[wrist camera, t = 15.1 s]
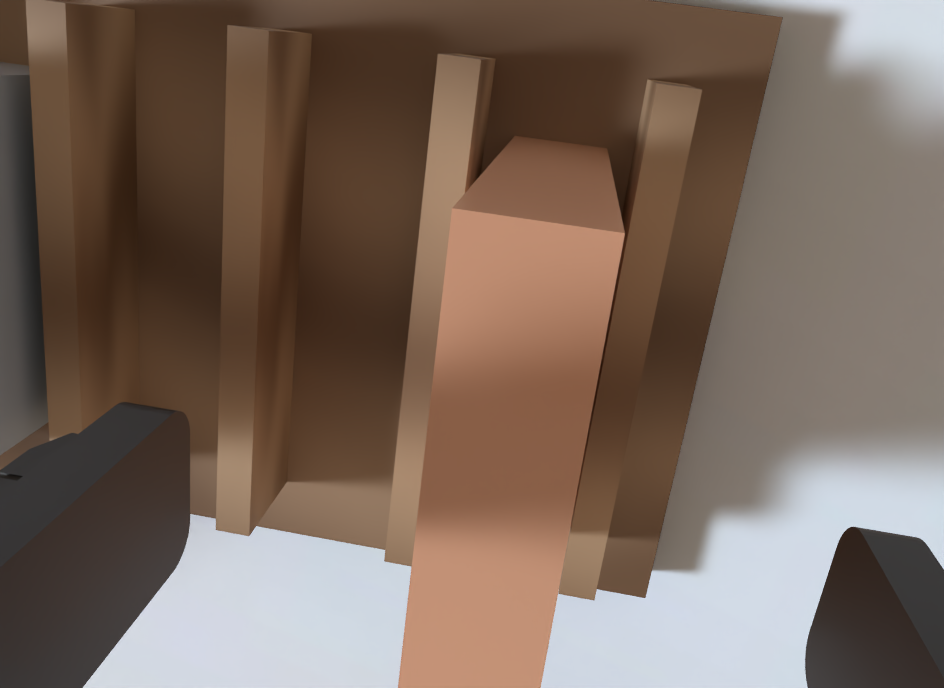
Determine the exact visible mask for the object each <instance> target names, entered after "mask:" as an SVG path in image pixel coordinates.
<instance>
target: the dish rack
mask: <svg viewBox="0 0 944 688" xmlns="http://www.w3.org/2000/svg"><path fill="white" fill-rule="evenodd" d="M782 18H783V17H775V16H768V15H760V14H752V13H744V12H736V11H729V10H721V9H713V8H705V7H697V6H690V5H682V4H674V3H666V2H658V1H651V0H0V62H6V63H13V64H20V65H27V66H29V72H30V91H31V109H32V128H33V146H34V164H35V183H36V201H37V220H38V238H39V256H40V275H41V293H42V312H43V330H44V348H45V367H46V385H47V403H48V423H46V424H45V425H44V426H42V427H41V428H39V429H38V430H36V431H35V432H33V433H32V434H30V435H29V436H28V437H26V438H25V439H23V440H22V441H20V442H19V443H17V444H16V445H14V446H13V447H11V448H10V449H9V450H7V451H6V452H4V453H3V454H1V455H0V470H1V469H2V468H4V467H5V466H7V465H8V464H9V463H11V462H12V461H13V460H15V459H16V458H18V457H19V456H20V455H22V454H23V453H24V452H26V451H27V450H29V449H31V448H33V447H36V446H38V445H41V444H44V443H46V442H49V441H51V440H54V439H57V438H59V437H62V436H64V435H67V434H69V433H77V434H79V433H80V432H81V431H83V430H84V429H85V428H87V427H88V426H89V425H91V424H92V423H93V422H95V421H96V420H97V419H98V418H100V417H101V416H102V415H104V414H105V413H106V412H108V411H109V410H110V409H111V408H113V407H114V406H115V405H117V404H119V403H121V402H129V403H135V404H141V405H147V406H153V407H159V408H165V409H171V410H177V411H181V412H184V413H185V415H186V416H187V418H188V421H189V426H190V514H194V515H200V516H205V517H211V518H216V530H219V531H225V532H230V533H235V534H241V535H246V536H249V535H250V534H251V533H252V531H253V530H254V528H255V527H256V526H259V527H265V528H270V529H275V530H281V531H286V532H292V533H297V534H302V535H308V536H313V537H319V538H324V539H329V540H335V541H340V542H346V543H351V544H356V545H362V546H367V547H373V548H378V549H383V550H385V560H384V561H386V562H391V563H396V564H402V565H407V566H412V559H413V551H414V542H415V533H416V524H417V515H418V506H419V497H420V488H421V479H422V471H423V462H424V453H425V444H426V435H427V426H428V417H429V408H430V400H431V391H432V382H433V373H434V364H435V355H436V346H437V337H438V328H439V320H440V311H441V302H442V293H443V284H444V275H445V266H446V257H447V249H448V240H449V231H450V222H451V213H452V208H453V206H454V205H455V204H456V203H457V202H458V201H459V200H460V198H461V197H462V196H463V195H464V194H465V193H466V192H467V190H468V189H469V188H470V187H471V186H472V185H473V183H474V182H475V181H476V180H477V179H478V178H479V177H480V175H481V174H482V173H483V172H484V171H485V170H486V169H487V167H488V166H489V165H490V164H491V163H492V162H493V160H494V159H495V158H496V157H497V156H498V155H499V154H500V152H501V151H502V150H503V149H504V148H505V147H506V146H507V144H508V143H509V142H510V141H511V140H512V139H513V137H514V136H521V137H528V138H535V139H542V140H550V141H557V142H564V143H572V144H579V145H586V146H594V147H601V148H607V150H608V155H609V160H610V164H611V169H612V174H613V179H614V183H615V188H616V193H617V198H618V202H619V207H620V212H621V217H622V221H623V226H624V231H625V236H624V241H623V247H622V252H621V257H620V263H619V268H618V273H617V279H616V284H615V290H614V295H613V300H612V306H611V311H610V316H609V322H608V327H607V332H606V338H605V343H604V349H603V354H602V359H601V365H600V370H599V375H598V381H597V386H596V392H595V397H594V402H593V408H592V413H591V418H590V424H589V429H588V435H587V440H586V445H585V451H584V456H583V461H582V467H581V472H580V477H579V483H578V488H577V494H576V499H575V504H574V510H573V515H572V520H571V526H570V531H569V537H568V542H567V547H566V553H565V558H564V563H563V569H562V574H561V580H560V585H559V594H563V595H568V596H574V597H579V598H584V599H590V600H594V599H595V594H596V590H597V589H599V590H605V591H610V592H616V593H621V594H626V595H632V596H637V597H643V598H645V597H646V593H647V588H648V584H649V580H650V576H651V571H652V567H653V563H654V559H655V555H656V550H657V546H658V542H659V538H660V533H661V529H662V525H663V521H664V516H665V512H666V508H667V504H668V500H669V495H670V491H671V487H672V483H673V478H674V474H675V470H676V466H677V462H678V457H679V453H680V449H681V445H682V440H683V436H684V432H685V428H686V424H687V419H688V415H689V411H690V407H691V402H692V398H693V394H694V390H695V386H696V381H697V377H698V373H699V369H700V364H701V360H702V356H703V352H704V347H705V343H706V339H707V335H708V331H709V326H710V322H711V318H712V314H713V309H714V305H715V301H716V297H717V293H718V288H719V284H720V280H721V276H722V271H723V267H724V263H725V259H726V255H727V250H728V246H729V242H730V238H731V233H732V229H733V225H734V221H735V217H736V212H737V208H738V204H739V200H740V195H741V191H742V187H743V183H744V178H745V174H746V170H747V166H748V162H749V157H750V153H751V149H752V145H753V140H754V136H755V132H756V128H757V124H758V119H759V115H760V111H761V107H762V102H763V98H764V94H765V90H766V86H767V81H768V77H769V73H770V69H771V64H772V60H773V56H774V52H775V48H776V43H777V39H778V35H779V31H780V26H781V22H782Z"/></svg>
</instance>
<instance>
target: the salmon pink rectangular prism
mask: <svg viewBox="0 0 944 688" xmlns="http://www.w3.org/2000/svg"><path fill="white" fill-rule="evenodd" d="M624 236H625V231H624V226H623V221H622V217H621V212H620V207H619V202H618V198H617V193H616V188H615V183H614V179H613V174H612V169H611V164H610V160H609V155H608V150H607V148H601V147H594V146H586V145H579V144H572V143H564V142H557V141H550V140H542V139H535V138H528V137H521V136H514V137H513V139H512V140H511V141H510V142H509V143H508V144H507V146H506V147H505V148H504V149H503V150H502V151H501V152H500V154H499V155H498V156H497V157H496V158H495V159H494V160H493V162H492V163H491V164H490V165H489V166H488V167H487V169H486V170H485V171H484V172H483V173H482V174H481V175H480V177H479V178H478V179H477V180H476V181H475V182H474V183H473V185H472V186H471V187H470V188H469V189H468V190H467V192H466V193H465V194H464V195H463V196H462V197H461V198H460V200H459V201H458V202H457V203H456V204H455V205H454V206H453V208H452V213H451V222H450V231H449V240H448V249H447V257H446V266H445V275H444V284H443V293H442V302H441V311H440V320H439V328H438V337H437V346H436V355H435V364H434V373H433V382H432V391H431V400H430V408H429V417H428V426H427V435H426V444H425V453H424V462H423V471H422V479H421V488H420V497H419V506H418V515H417V524H416V533H415V542H414V551H413V559H412V568H411V577H410V586H409V595H408V604H407V613H406V622H405V630H404V639H403V648H402V657H401V666H400V675H399V684H398V688H540V687H541V682H542V676H543V671H544V665H545V660H546V655H547V649H548V644H549V639H550V633H551V628H552V622H553V617H554V612H555V606H556V601H557V596H558V590H559V585H560V580H561V574H562V569H563V563H564V558H565V553H566V547H567V542H568V537H569V531H570V526H571V520H572V515H573V510H574V504H575V499H576V494H577V488H578V483H579V477H580V472H581V467H582V461H583V456H584V451H585V445H586V440H587V435H588V429H589V424H590V418H591V413H592V408H593V402H594V397H595V392H596V386H597V381H598V375H599V370H600V365H601V359H602V354H603V349H604V343H605V338H606V332H607V327H608V322H609V316H610V311H611V306H612V300H613V295H614V290H615V284H616V279H617V273H618V268H619V263H620V257H621V252H622V247H623V241H624Z"/></svg>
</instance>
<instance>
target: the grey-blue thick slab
mask: <svg viewBox="0 0 944 688" xmlns="http://www.w3.org/2000/svg"><path fill="white" fill-rule="evenodd" d="M46 423H48V403H47V385H46V367H45V348H44V330H43V312H42V293H41V275H40V256H39V238H38V220H37V201H36V183H35V164H34V146H33V128H32V109H31V91H30V72H29V66H27V65H20V64H13V63H6V62H0V455H1V454H3V453H4V452H6V451H7V450H9V449H10V448H11V447H13V446H14V445H16V444H17V443H19V442H20V441H22V440H23V439H25V438H26V437H28V436H29V435H30V434H32V433H33V432H35V431H36V430H38V429H39V428H41V427H42V426H44V425H45V424H46Z"/></svg>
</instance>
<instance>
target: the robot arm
mask: <svg viewBox="0 0 944 688" xmlns="http://www.w3.org/2000/svg"><path fill="white" fill-rule="evenodd" d="M189 526H190V426H189V421H188V418H187V416H186V415H185V413H184V412H181V411H177V410H171V409H165V408H159V407H153V406H147V405H141V404H135V403H129V402H121V403H119V404H117V405H115V406H114V407H113V408H111V409H110V410H109V411H108V412H106V413H105V414H104V415H102V416H101V417H100V418H98V419H97V420H96V421H95V422H93V423H92V424H91V425H89V426H88V427H87V428H85V429H84V430H83V431H81V432H80V433H79V434H77V433H69V434H67V435H64V436H62V437H59V438H57V439H54V440H51V441H49V442H46V443H44V444H41V445H38V446H36V447H33V448H31V449H29V450H27V451H26V452H24V453H23V454H22V455H20V456H19V457H18V458H16V459H15V460H13V461H12V462H11V463H9V464H8V465H7V466H5V467H4V468H2V469H1V470H0V688H83V686H84V685H85V684H86V682H87V681H88V680H89V679H90V677H91V676H92V675H93V673H94V672H95V671H96V670H97V668H98V667H99V666H100V665H101V663H102V662H103V661H104V659H105V658H106V657H107V656H108V654H109V653H110V652H111V650H112V649H113V648H114V647H115V645H116V644H117V643H118V642H119V640H120V639H121V638H122V636H123V635H124V634H125V633H126V631H127V630H128V629H129V627H130V626H131V625H132V624H133V622H134V621H135V620H136V619H137V617H138V616H139V615H140V613H141V612H142V611H143V610H144V608H145V607H146V606H147V604H148V603H149V602H150V601H151V599H152V598H153V597H154V596H155V594H156V593H157V592H158V590H159V589H160V588H161V587H162V585H163V584H164V583H165V582H166V580H167V579H168V578H169V576H170V575H171V574H172V573H173V571H174V570H175V568H176V566H177V565H178V563H179V561H180V559H181V556H182V554H183V551H184V548H185V545H186V542H187V538H188V533H189ZM805 670H806V681H807V686H808V688H944V569H943V568H942V566H941V565H940V564H939V562H938V561H937V559H936V558H935V556H934V555H933V553H932V552H931V550H930V549H929V547H928V546H927V545H926V543H925V542H924V541H923V540H921V539H920V538H916V537H911V536H905V535H899V534H893V533H887V532H881V531H875V530H869V529H863V528H858V527H850V528H848V529H847V530H846V531H845V532H844V533H843V535H842V536H841V538H840V540H839V543H838V545H837V548H836V551H835V554H834V557H833V561H832V564H831V567H830V570H829V573H828V576H827V579H826V582H825V585H824V588H823V592H822V595H821V598H820V601H819V604H818V607H817V610H816V613H815V616H814V619H813V623H812V626H811V629H810V632H809V636H808V640H807V646H806V657H805Z"/></svg>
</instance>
